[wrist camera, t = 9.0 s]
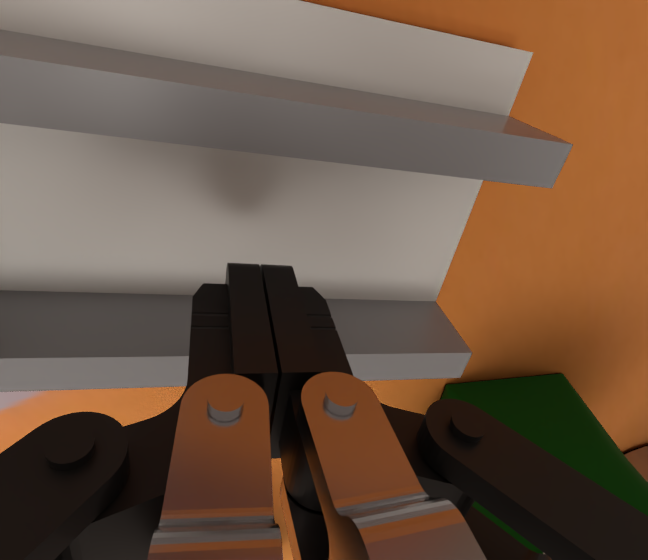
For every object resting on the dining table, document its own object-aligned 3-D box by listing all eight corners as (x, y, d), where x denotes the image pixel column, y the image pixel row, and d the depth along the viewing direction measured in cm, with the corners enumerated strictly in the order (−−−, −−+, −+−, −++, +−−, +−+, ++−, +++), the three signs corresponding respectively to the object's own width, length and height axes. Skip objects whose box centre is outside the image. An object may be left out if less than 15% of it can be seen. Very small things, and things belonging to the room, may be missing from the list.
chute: (513, 48, 14) (610, 69, 10) (405, 341, 20) (443, 411, 17) (-775, -240, 7) (-1666, -441, 4) (-323, 344, 13) (-498, 463, 10)
